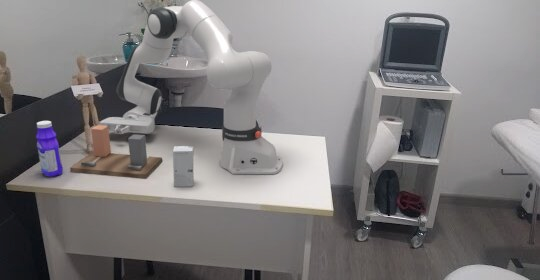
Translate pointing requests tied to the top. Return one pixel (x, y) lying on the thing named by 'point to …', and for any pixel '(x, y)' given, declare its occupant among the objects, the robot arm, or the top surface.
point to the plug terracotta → (101, 140)
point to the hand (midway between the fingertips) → (118, 131)
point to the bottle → (48, 149)
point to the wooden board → (115, 165)
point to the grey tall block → (137, 150)
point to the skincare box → (183, 166)
